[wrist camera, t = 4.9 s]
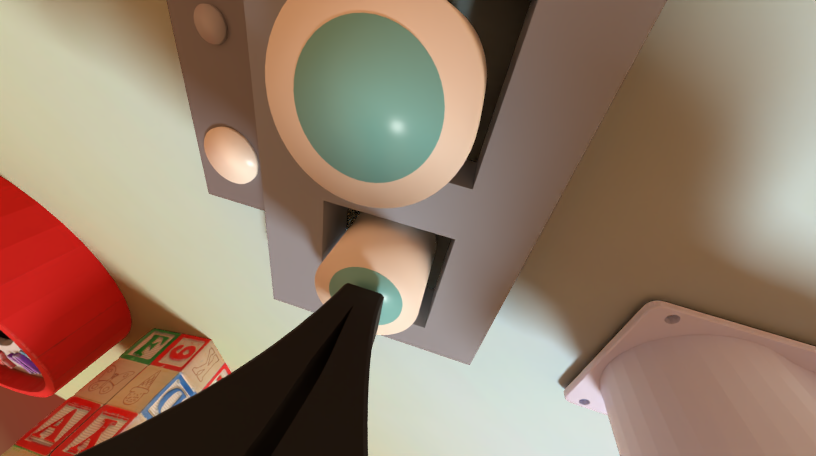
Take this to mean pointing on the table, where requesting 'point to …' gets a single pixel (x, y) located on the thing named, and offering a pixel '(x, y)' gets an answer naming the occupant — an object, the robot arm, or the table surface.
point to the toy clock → (50, 299)
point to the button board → (465, 168)
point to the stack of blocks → (127, 394)
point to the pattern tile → (220, 95)
